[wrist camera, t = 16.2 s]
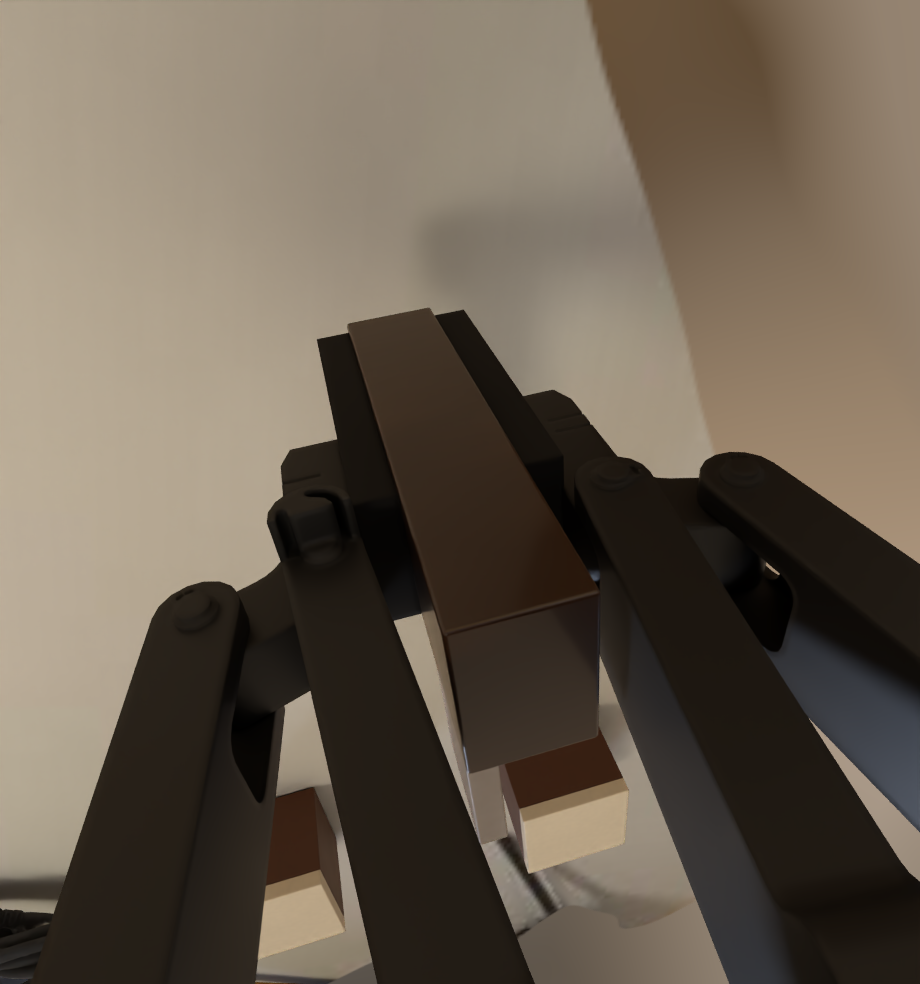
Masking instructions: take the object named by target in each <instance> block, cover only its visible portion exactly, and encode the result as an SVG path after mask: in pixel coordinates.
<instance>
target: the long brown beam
mask: <svg viewBox="0 0 920 984" xmlns="http://www.w3.org/2000/svg"><path fill="white" fill-rule="evenodd" d="M347 328H348V333H349V335H350V339H351V342H352V345H353V349H354V352H355V355H356V358H357V362H358V365H359V368H360V372H361V375H362V378H363V382H364V385H365V388H366V392H367V395H368V398H369V401H370V405H371V408H372V411H373V415H374V418H375V421H376V425H377V428H378V431H379V435H380V438H381V441H382V445H383V448H384V451H385V454H386V458H387V461H388V464H389V468H390V471H391V474H392V478H393V481H394V484H395V488H396V491H397V494H398V499H399V504H400V509H401V514H402V518H403V523H404V528H405V533H406V538H407V543H408V548H409V553H410V558H411V563H412V568H413V573H414V578H415V583H416V587H417V592H418V597H419V602H420V607H421V612H422V616H423V619H424V623H425V626H426V630H427V633H428V637H429V640H430V644H431V648H432V651H433V655H434V658H435V662H436V665H437V670H438V675H439V680H440V685H441V690H442V695H443V700H444V705H445V710H446V716H447V721H448V726H449V731H450V736H451V741H452V745H453V749H454V753H455V756H456V760H457V764H458V767H459V771H460V775H461V778H462V782H463V785H464V789H465V793H466V796H467V800H468V804H469V807H470V811H471V815H472V818H473V822H474V825H475V829H476V833H477V836H478V840H479V842H480V844H485V843H488V842H491V841H495V840H498V839H501V838H504V837H507V836H508V830H507V823H506V815H505V808H504V801H503V793H502V786H501V778H500V771H499V766H500V765H503V764H507V763H510V762H513V761H517V760H520V759H524V758H527V757H530V756H534V755H537V754H541V753H544V752H547V751H551V750H554V749H557V748H561V747H564V746H568V745H571V744H574V743H578V742H581V741H585V740H588V739H591V738H595V737H596V736H598V717H599V657H600V597H601V593H600V590H599V589H598V587H597V585H596V584H595V582H594V580H593V579H592V577H591V575H590V574H589V572H588V570H587V569H586V567H585V565H584V564H583V562H582V560H581V559H580V557H579V555H578V554H577V552H576V550H575V549H574V547H573V545H572V544H571V542H570V540H569V539H568V537H567V535H566V534H565V532H564V530H563V529H562V527H561V525H560V524H559V522H558V520H557V519H556V517H555V515H554V514H553V512H552V510H551V509H550V507H549V505H548V504H547V502H546V500H545V499H544V497H543V495H542V494H541V492H540V490H539V489H538V487H537V485H536V484H535V482H534V480H533V479H532V477H531V475H530V474H529V472H528V470H527V469H526V467H525V465H524V464H523V462H522V460H521V459H520V457H519V455H518V454H517V452H516V450H515V449H514V447H513V445H512V444H511V442H510V440H509V439H508V437H507V435H506V434H505V432H504V430H503V429H502V427H501V425H500V424H499V422H498V420H497V419H496V417H495V416H494V414H493V412H492V411H491V409H490V407H489V406H488V404H487V402H486V401H485V399H484V397H483V396H482V394H481V392H480V391H479V389H478V387H477V386H476V384H475V382H474V381H473V379H472V377H471V376H470V374H469V372H468V371H467V369H466V367H465V366H464V364H463V362H462V361H461V359H460V357H459V356H458V354H457V352H456V351H455V349H454V347H453V346H452V344H451V342H450V341H449V339H448V337H447V336H446V334H445V332H444V331H443V329H442V327H441V326H440V324H439V322H438V321H437V319H436V317H435V316H434V314H433V312H432V311H431V309H430V308H424V309H419V310H414V311H409V312H404V313H399V314H394V315H389V316H384V317H379V318H374V319H369V320H364V321H359V322H354V323H349V324H348V325H347Z"/></svg>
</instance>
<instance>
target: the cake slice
mask: <svg viewBox="0 0 920 984" xmlns="http://www.w3.org/2000/svg"><path fill="white" fill-rule="evenodd" d="M345 931H346V930H345V920H344V910H343V901H342V891H341V881H340V871H339V862H338V852H337V842H336V837H335V835H334V833H333V830H332V828H331V826H330V824H329V821H328V819H327V817H326V814H325V812H324V810H323V808H322V805H321V803H320V801H319V799H318V796H317V794H316V792H315V790H314V788H309V789H306V790H303V791H299V792H296V793H292V794H289V795H285V796H282V797H278V798H275V807H274V816H273V825H272V834H271V843H270V852H269V862H268V871H267V880H266V889H265V898H264V907H263V916H262V925H261V935H260V944H259V953H258V959H261V958H264V957H267V956H270V955H273V954H277V953H280V952H283V951H286V950H289V949H292V948H296V947H299V946H302V945H305V944H308V943H311V942H315V941H318V940H321V939H324V938H327V937H331V936H334V935H337V934H340V933H343V932H345Z"/></svg>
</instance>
